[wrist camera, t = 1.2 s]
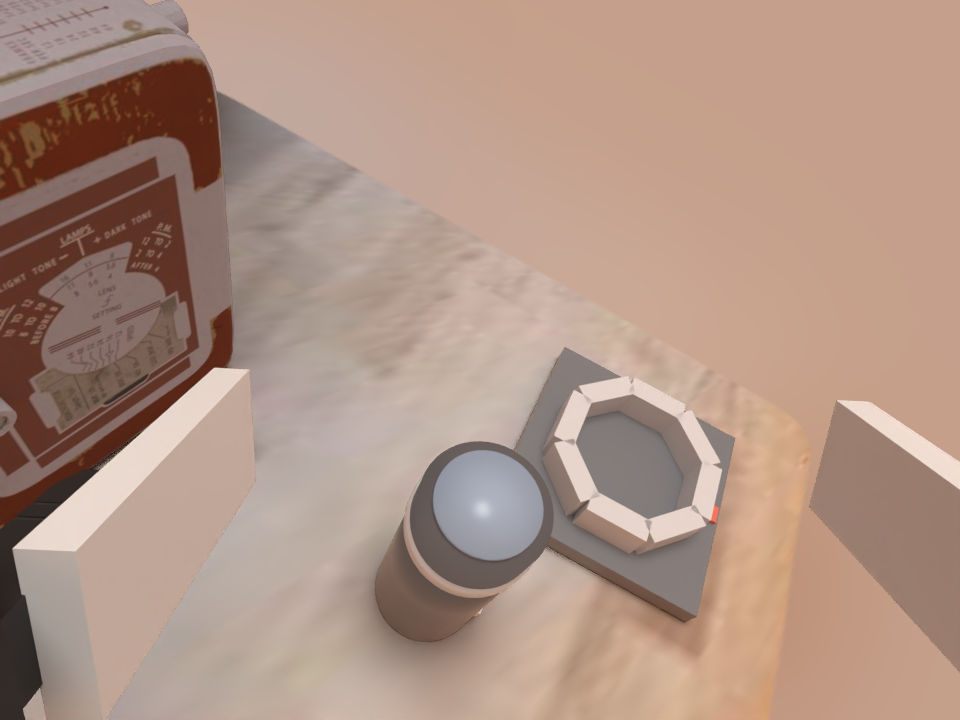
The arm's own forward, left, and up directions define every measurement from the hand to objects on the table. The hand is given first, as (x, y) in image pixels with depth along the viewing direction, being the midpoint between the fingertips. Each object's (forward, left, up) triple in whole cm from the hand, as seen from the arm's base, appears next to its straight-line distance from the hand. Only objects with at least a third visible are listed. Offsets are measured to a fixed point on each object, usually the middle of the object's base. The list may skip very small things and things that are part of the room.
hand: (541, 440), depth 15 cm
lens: (0, +2, -20) cm, 20 cm away
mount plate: (+7, +13, -20) cm, 25 cm away
